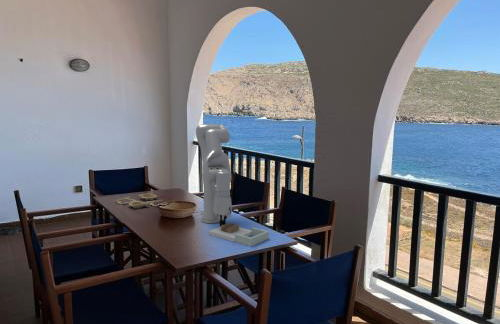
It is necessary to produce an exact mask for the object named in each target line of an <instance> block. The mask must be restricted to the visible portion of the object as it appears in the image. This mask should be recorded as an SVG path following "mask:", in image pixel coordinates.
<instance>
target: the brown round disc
mask: <svg viewBox="0 0 500 324" xmlns="http://www.w3.org/2000/svg"><path fill="white" fill-rule="evenodd" d="M239 227H240V224H236V223H233V222H226V224H224V225H221V231H224V232H227V233H233V232H236V231H239Z"/></svg>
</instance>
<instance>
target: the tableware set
mask: <svg viewBox="0 0 500 324" xmlns="http://www.w3.org/2000/svg"><path fill="white" fill-rule="evenodd" d="M138 196H139V197H141V199H143V200H144V199H145V200H144V201H140V200H136V199H131V197H128V196H127V197H124V198H120V199H116V200H115V202H116V204H118V205H129V206H130V207H133V208H132V209H142V208H143V207H144V206H146V205H148V204H149V205H150V206H151V205H152V206H151V207H159V206H158V205H159V204H158V205H154V204H153V203H154V202H159V201H164V200H163V199H157V200H151V199H155V198H157V196H158V195H157V194H154V192H148V193H142V194H138ZM124 200H132V201H130V202H125V203H121V201H124ZM146 200H151V201H146ZM141 207H142V208H141Z"/></svg>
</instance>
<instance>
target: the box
mask: <svg viewBox="0 0 500 324" xmlns="http://www.w3.org/2000/svg"><path fill="white" fill-rule="evenodd" d="M251 230H252V235H251V236H252V237H250V236H248V237H247V236H243V235H240V234H235V242H234V243H238V244H242V245H245V246H249V247H253V246H256V245H257V244H260V243H262V242H264V241H267V240H269V235H270V234H269V233H270V232H269V230H265V229H261V228H257V227H251Z"/></svg>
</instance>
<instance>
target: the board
mask: <svg viewBox="0 0 500 324" xmlns="http://www.w3.org/2000/svg"><path fill="white" fill-rule="evenodd" d="M235 234H240V235H243V236H247V237H250V236H253V235H252V229H247V228H243V227H240V226H239V231H236V232H233V233H227V232H224V231H221V227H220V226H219V227H216V228H213V229H212V230H211V229H210V230H209V231H208V235H210V236H213V237H216V238H220V239H224V240H226V241H230V242H233V243H236V242H235Z"/></svg>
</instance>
